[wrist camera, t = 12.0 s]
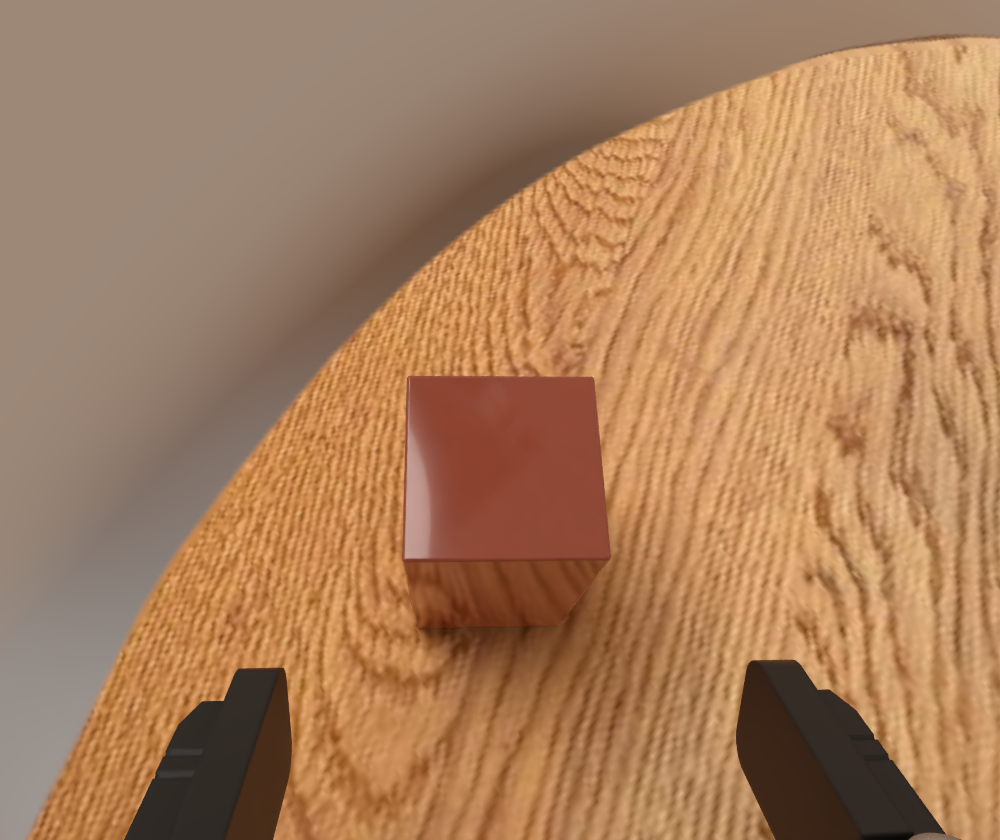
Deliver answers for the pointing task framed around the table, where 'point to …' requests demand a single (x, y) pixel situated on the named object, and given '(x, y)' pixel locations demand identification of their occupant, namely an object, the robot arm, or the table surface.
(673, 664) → the table surface
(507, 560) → the block
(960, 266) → the table surface
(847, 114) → the table surface
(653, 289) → the table surface
